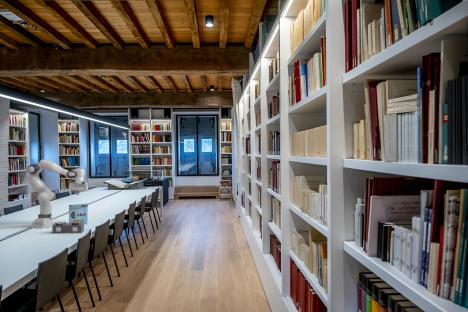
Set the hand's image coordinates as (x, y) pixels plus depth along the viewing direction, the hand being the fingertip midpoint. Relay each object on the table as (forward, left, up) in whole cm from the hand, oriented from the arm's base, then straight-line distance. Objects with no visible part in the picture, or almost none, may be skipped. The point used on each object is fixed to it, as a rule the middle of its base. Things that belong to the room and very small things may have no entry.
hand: (77, 194), depth 376 cm
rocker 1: (-9, -23, -26) cm, 36 cm away
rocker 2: (+7, -23, -26) cm, 35 cm away
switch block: (-1, -23, -36) cm, 43 cm away
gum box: (-4, +19, -36) cm, 41 cm away
